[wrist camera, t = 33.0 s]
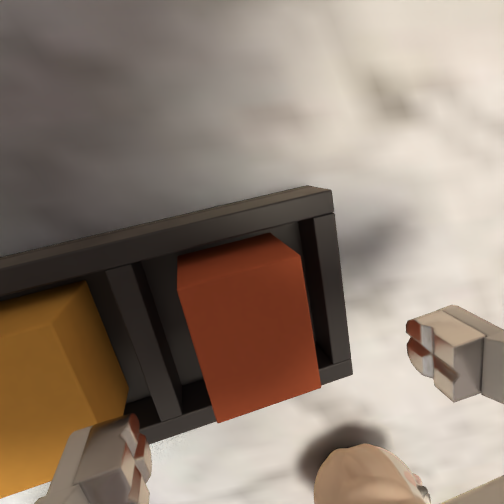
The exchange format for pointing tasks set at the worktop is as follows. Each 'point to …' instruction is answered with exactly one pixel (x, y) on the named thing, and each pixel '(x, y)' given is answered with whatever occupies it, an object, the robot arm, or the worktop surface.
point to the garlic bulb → (367, 478)
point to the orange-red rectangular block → (249, 323)
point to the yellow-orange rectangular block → (52, 380)
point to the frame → (168, 303)
